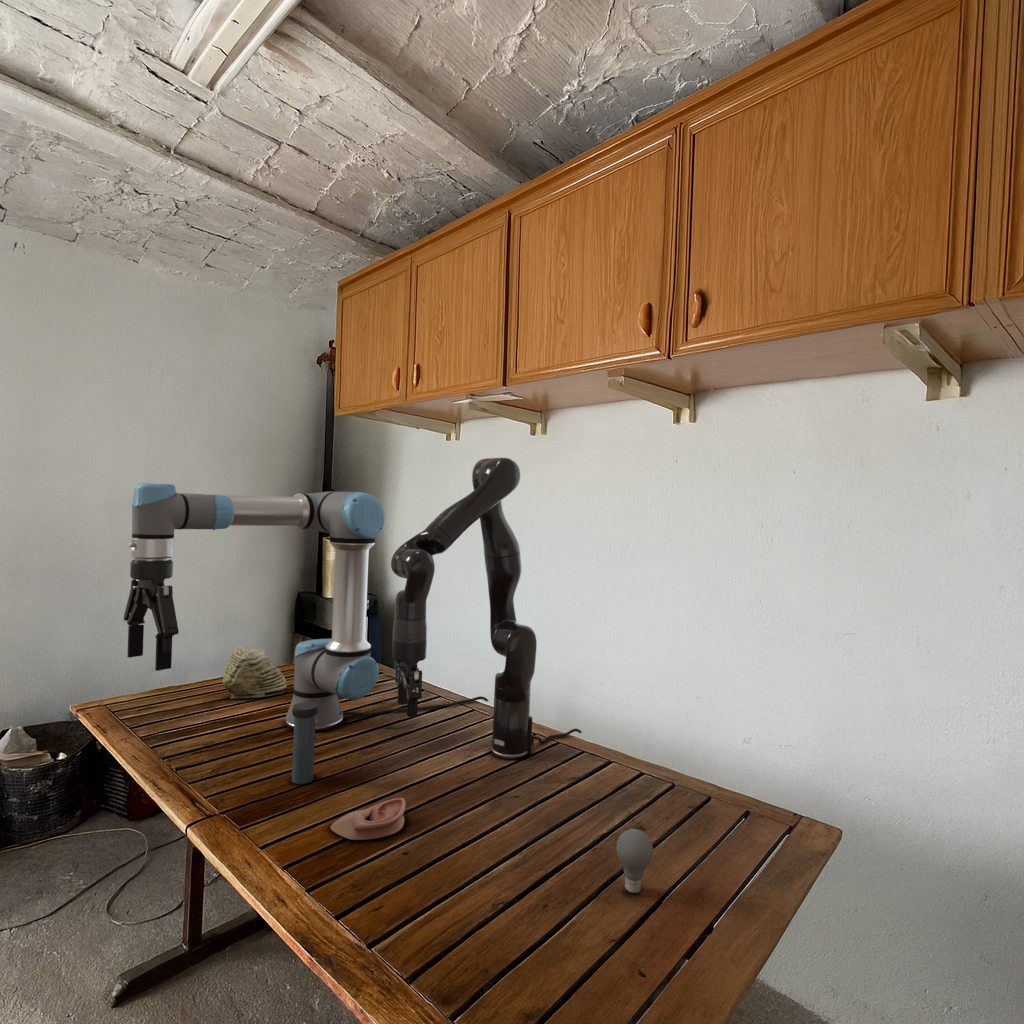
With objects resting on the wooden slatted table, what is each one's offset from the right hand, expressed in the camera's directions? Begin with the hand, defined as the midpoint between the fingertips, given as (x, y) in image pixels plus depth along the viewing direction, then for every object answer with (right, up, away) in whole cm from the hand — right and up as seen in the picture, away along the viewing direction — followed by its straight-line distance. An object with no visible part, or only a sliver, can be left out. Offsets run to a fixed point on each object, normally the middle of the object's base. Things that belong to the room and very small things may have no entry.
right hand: (407, 710), depth 141 cm
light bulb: (+43, -19, -35) cm, 59 cm away
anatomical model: (-4, -17, -18) cm, 25 cm away
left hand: (-51, +13, -12) cm, 54 cm away
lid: (-23, 0, 0) cm, 23 cm away
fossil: (-57, -13, +57) cm, 82 cm away
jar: (-23, -16, +1) cm, 28 cm away
